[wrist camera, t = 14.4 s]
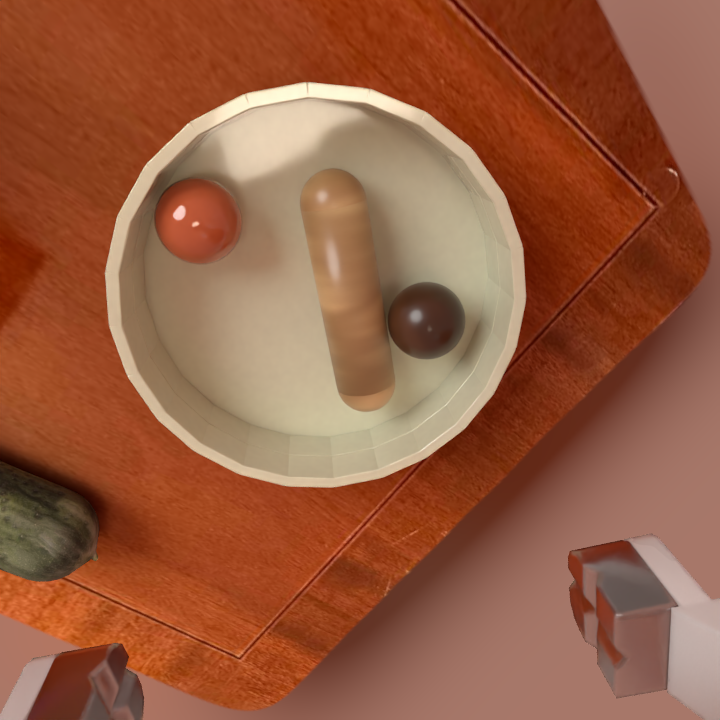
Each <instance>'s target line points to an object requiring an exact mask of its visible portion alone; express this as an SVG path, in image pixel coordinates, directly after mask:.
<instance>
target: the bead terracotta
mask: <svg viewBox="0 0 720 720" xmlns="http://www.w3.org/2000/svg"><path fill="white" fill-rule="evenodd" d="M154 226H155V230H156V233H157V236H158V238H159V240H160V242H161V243H162V245H163V246H164V247H165V248H166V250H167V251H168V252H169V253H171V254H172V255H173V256H174V257H176V258H178V259H179V260H182V261H184V262H187V263H190V264H196V265H206V264H212V263H215V262H218V261H220V260H222V259H223V258H225V257H226V256H228V255H229V254H230V253H231V252H232V251H233V250H234V248H235V247H236V245H237V244H238V242H239V240H240V237H241V233H242V227H243V219H242V213H241V210H240V207H239V205H238V203H237V201H236V199H235V198H234V196H233V195H232V194H231V193H230V192H229V190H227V189H226V188H225V187H224V186H223V185H221V184H219V183H218V182H216V181H213V180H211V179H208V178H203V177H189V178H184V179H181V180H178V181H176V182H174V183H173V184H171V185H170V186H169V187H167V188H166V189H165V190H164V191H163V193H162V194H161V196H160V197H159V199H158V201H157V203H156V207H155V211H154Z"/></svg>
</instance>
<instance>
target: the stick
mask: <svg viewBox="0 0 720 720" xmlns="http://www.w3.org/2000/svg"><path fill="white" fill-rule="evenodd" d="M300 208H301V214H302V219H303V224H304V229H305V234H306V239H307V244H308V249H309V254H310V258H311V263H312V268H313V273H314V278H315V283H316V288H317V293H318V298H319V303H320V307H321V312H322V317H323V322H324V327H325V332H326V337H327V342H328V347H329V352H330V356H331V361H332V366H333V371H334V376H335V381H336V386H337V390H338V393H339V395H340V397H341V399H342V400H343V402H344V403H345V404H346V405H348V406H349V407H351V408H352V409H354V410H357V411H360V412H371V411H375V410H378V409H380V408H382V407H383V406H384V405H386V404H387V403H388V402H389V400H390V399H391V397H392V395H393V393H394V390H395V374H394V367H393V361H392V355H391V349H390V342H389V336H388V330H387V323H386V317H385V311H384V305H383V298H382V292H381V286H380V280H379V273H378V267H377V261H376V254H375V248H374V242H373V236H372V229H371V223H370V217H369V211H368V204H367V198H366V194H365V191H364V188H363V186H362V185H361V183H360V182H359V181H358V179H357V178H355V177H354V176H353V175H352V174H350V173H349V172H347V171H344V170H341V169H334V168H332V169H325V170H322V171H319V172H318V173H316V174H314V175H313V176H312V177H311V178H310V179H309V180H308V181H307V182H306V183H305V185H304V187H303V189H302V193H301V196H300Z"/></svg>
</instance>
